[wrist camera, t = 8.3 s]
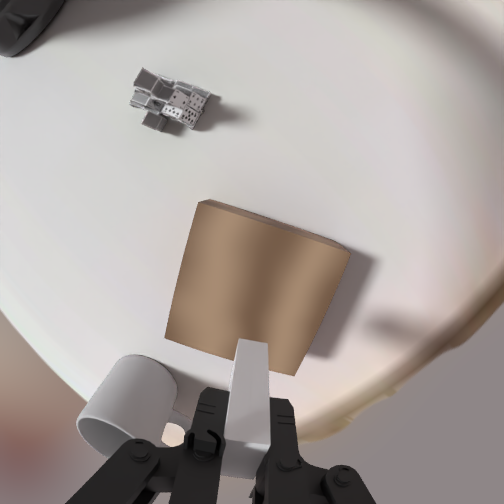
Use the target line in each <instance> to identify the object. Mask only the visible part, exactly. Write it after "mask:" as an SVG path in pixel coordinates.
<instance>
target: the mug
mask: <svg viewBox="0 0 504 504" xmlns="http://www.w3.org/2000/svg"><path fill="white" fill-rule="evenodd" d="M176 397H177V385H176V382H175V380H174V378H173V376H172V375H171V374H170V372H169V371H168V370H167V369H166V368H165V367H163V366H162V365H161V364H159V363H158V362H156V361H154V360H152V359H150V358H148V357H145V356H141V355H128V356H124V357H122V358H121V359H119V360H118V361H117V362H116V364H115V365H114V367H113V368H112V369H111V371H110V372H109V374H108V375H107V377H106V378H105V380H104V381H103V382H102V384H101V385H100V386H99V388H98V389H97V391H96V392H95V393H94V395H93V396H92V398H91V399H90V401H89V402H88V403H87V405H86V406H85V408H84V409H83V411H82V412H81V413H80V415H79V417H78V418H77V422H76V424H77V429H78V431H79V433H80V434H81V436H82V437H83V439H84V440H85V441H86V442H87V443H88V444H89V445H90V446H91V447H92V448H94V449H95V450H96V451H97V452H99V453H100V454H102V455H103V456H105V457H107V458H108V459H109V458H110V457H111V456H112V455H113V454H114V453H115V452H116V451H117V450H118V449H119V448H120V446H121V445H122V444H123V443H125V442H126V441H128V440H130V439H134V438H138V439H145V440H147V441H150V442H151V443H153V444H154V445H155V446H156V447H170V446H168V445H166V444H165V443H163V442H162V440H161V438H162V434H163V431H164V428H165V426H166V423H168V422H169V423H174V424H177V425H179V426H181V427H182V428H183V429H184V431H185V434H186V432H187V431H188V430H189V429H191V425H192V421H191V420H190V419H189V418H188V417H187V416H185V415H183V414H181V413H179V412H177V411H175V410H173V405H174V402H175V400H176Z"/></svg>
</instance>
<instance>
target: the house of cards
mask: <svg viewBox="0 0 504 504" xmlns="http://www.w3.org/2000/svg"><path fill="white" fill-rule="evenodd" d="M133 86H134V87H135V88H136V89H135V92H134V94H133V96H132V99H131V100H130V102H129V104H130V105H131V106H133V107H134V106H137V107H140V108H142V109H143V110H146V111H147V113H146V114H145V116H144V118H143V120H142V122H141V124H142V125H145V126H147V127H149V128H152V129H154V130H158V131H160V132H161V131H162V129H163V128H164V126H165V124H166V122H167V119H165V118H164V117H162V114H163V115H166V116H170V117H171V118H173V119H175V120H176V121H178V122H181V123H183V124H185V125H188V126H190V128H191V129H193V127H194V125H195V124H196V122H197V120H198V118H199V116H200V115H201V113H202V111H204V110H203V107H204V105H205V104H206V102H207V100H208V99H209V97H210V95H211V93H210V91H209V92H208V91H205V90H203V89H200V88H197V87H195V86H193V85H191V84H188V83H186V82H183V81H180V80H176V81H174V80H171V79H168V78H164V77H163V76H160V75H157V74H155V73H151V72H149V71H148V70H146V69H144V68H142V70H141V71H140V73H139V74H138V76H137V78H136V79H135V81H134V85H133ZM192 86H193V87H192ZM202 114H203V113H202Z"/></svg>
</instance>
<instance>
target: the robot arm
mask: <svg viewBox="0 0 504 504" xmlns="http://www.w3.org/2000/svg"><path fill="white" fill-rule="evenodd" d="M63 2H64V0H0V55H1V56H4V57H11V56H13V55H15V54H17V53H19V52H20V51H21V50H23V49H24V48H25V47H26V46H28V45H29V44H30V43H31V42H32V41H33V40H34V39H35V38H36V37H37V36H38V35H39V34H40V33H41V31H42V30H43V29H44V28H45V27H46V26H47V24H48V23H49V22H50V21H51V20H52V18H53V17H54V16H55V14H56V13H57V11H58V10H59V8H60V7H61V5H62V4H63ZM294 417H295V416H294V408H293V406H292V405H291V403H290V402H289V400H288V399H280V398H272V397H269V365H268V343H263V342H257V341H251V340H246V339H241V338H239V340H238V345H237V349H236V354H235V359H234V363H233V368H232V372H231V377H230V383H229V390H228V391H225V390H220V389H215V388H210V387H207V388H206V389H205V390H204V391H203V392H202V393H200V397H199V400H198V404H197V407H196V411H195V415H194V418H193V422H192V425H191V429H189V430H188V431H187V432H186V434H185V435H184V443H182V444H181V445H179V446H175V447H156V446H155V445H154V444H153V443H151V442H150V441H147V440H145V439H138V438H134V439H130V440H128V441H126V442H125V443H123V444H122V445H121V446H120V448H119V449H118V450H117V451H116V452H115V453H114V454H113V455H112V456H111V457H110V458H109V459H108V460H107V461H106V463H105V464H104V465H103V466H102V467H101V468H100V469H99V470H98V471H97V472H96V473H95V474H94V475H93V476H92V477H91V478H90V479H89V480H88V481H87V482H86V483H85V484H84V485H83V486H82V488H80V489H79V490H78V491H77V492H76V493H75V494H74V495H73V496H72V497H71V498H70V499H69V500H68V501H67V502H66V503H65V504H152V503H153V502H154V500H155V499H156V497H157V496H158V495H159V493H160V492H172V493H171V496H170V500H169V504H216V502H217V495H218V487H219V480H220V475H223V476H229V477H237V478H245V479H254V477H255V476H256V484H255V486H254V488H253V490H252V491H251V493H250V496H249V498H252V504H376V503H375V501H374V499H373V498H372V496H371V494H370V493H369V491H368V489H367V487H366V486H365V484H364V482H363V481H362V479H361V477H360V475H359V474H358V473H357V471H356V470H355V469H353V468H351V467H350V466H346V465H336V466H334V467H332V468H330V469H329V470H327V469H323V468H319V467H315V466H313V465H310V464H308V463H307V462H305V461H304V459H303V458H302V457H301V456H300V454H299V450H298V441H297V433H296V425H295V418H294Z"/></svg>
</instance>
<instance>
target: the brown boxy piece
mask: <svg viewBox="0 0 504 504" xmlns="http://www.w3.org/2000/svg"><path fill="white" fill-rule="evenodd" d="M350 255H351V253H350V252H349V251H347V250H346V249H345V248H344V247H342V246H341V245H340V244H338V243H337V242H336V241H333V240H331V239H328V238H325V237H322V236H319V235H317V234H314V233H311V232H308V231H305V230H302V229H299V228H297V227H294V226H291V225H288V224H285V223H282V222H279V221H276V220H273V219H270V218H267V217H264V216H261V215H258V214H255V213H252V212H249V211H246V210H243V209H240V208H236V207H233V206H230V205H227V204H224V203H221V202H217V201H214V200H211V199H208V200H205V201H201V202H198V205H197V208H196V212H195V215H194V219H193V222H192V226H191V229H190V233H189V237H188V240H187V244H186V248H185V252H184V255H183V259H182V263H181V267H180V271H179V275H178V279H177V283H176V288H175V292H174V296H173V300H172V305H171V309H170V314H169V318H168V323H167V328H166V333H165V338H166V339H168V340H171V341H174V342H177V343H180V344H182V345H185V346H188V347H191V348H194V349H197V350H200V351H203V352H206V353H209V354H213V355H216V356H219V357H222V358H226V359H229V360H232V361H234V359H235V354H236V349H237V345H238V340H239V338H241V339H246V340H251V341H257V342H263V343H268V365H269V370H270V371H274V372H278V373H282V374H287V375H291V376H295V374H296V372H297V370H298V368H299V366H300V364H301V362H302V361H303V359H304V357H305V355H306V353H307V351H308V349H309V347H310V345H311V343H312V341H313V339H314V337H315V335H316V333H317V331H318V328H319V326H320V324H321V322H322V320H323V318H324V316H325V314H326V311H327V309H328V307H329V305H330V303H331V300H332V298H333V296H334V293H335V291H336V289H337V287H338V284H339V282H340V279H341V277H342V275H343V272H344V270H345V267H346V265H347V263H348V260H349V258H350Z"/></svg>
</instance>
